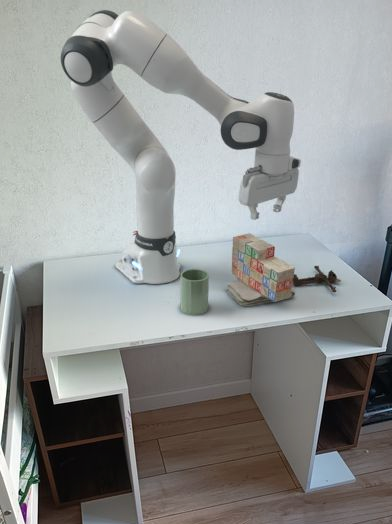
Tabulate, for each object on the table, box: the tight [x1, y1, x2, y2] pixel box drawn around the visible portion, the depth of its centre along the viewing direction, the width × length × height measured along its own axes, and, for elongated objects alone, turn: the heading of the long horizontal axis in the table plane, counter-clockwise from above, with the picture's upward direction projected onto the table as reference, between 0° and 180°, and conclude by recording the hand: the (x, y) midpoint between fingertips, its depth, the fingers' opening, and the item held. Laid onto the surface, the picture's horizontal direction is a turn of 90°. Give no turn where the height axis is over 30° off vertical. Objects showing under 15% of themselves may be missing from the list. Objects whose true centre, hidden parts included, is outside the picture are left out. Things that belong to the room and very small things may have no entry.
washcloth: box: [226, 280, 296, 307], centre depth 151 cm, size 12×18×3 cm, turn 112°
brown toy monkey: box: [293, 265, 342, 294], centre depth 158 cm, size 18×4×14 cm
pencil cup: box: [179, 268, 210, 316], centre depth 142 cm, size 8×8×10 cm
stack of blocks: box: [231, 232, 296, 303], centre depth 147 cm, size 21×6×12 cm, turn 32°
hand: (265, 215), depth 139 cm, fingers open, 8 cm apart
